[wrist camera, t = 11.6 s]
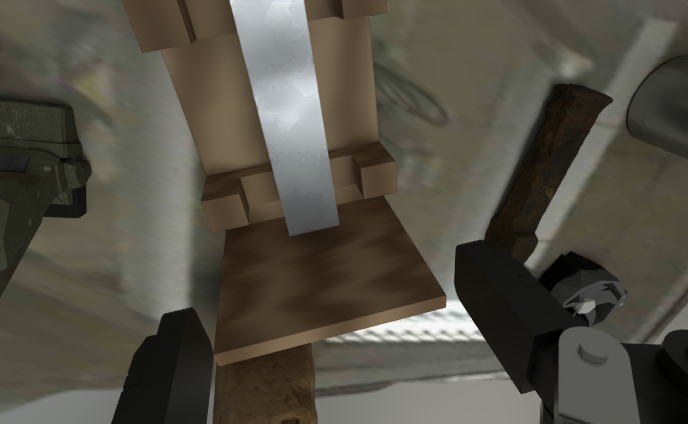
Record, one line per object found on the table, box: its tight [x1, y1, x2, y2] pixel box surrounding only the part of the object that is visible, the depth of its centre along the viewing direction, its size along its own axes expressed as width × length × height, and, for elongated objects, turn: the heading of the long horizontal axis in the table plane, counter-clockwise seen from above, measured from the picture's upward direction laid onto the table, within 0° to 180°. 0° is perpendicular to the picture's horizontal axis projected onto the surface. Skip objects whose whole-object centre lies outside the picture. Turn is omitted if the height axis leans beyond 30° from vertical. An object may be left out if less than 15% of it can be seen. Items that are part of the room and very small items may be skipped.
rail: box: [230, 0, 340, 236], centre depth 27 cm, size 4×17×6 cm, turn 7°
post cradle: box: [122, 0, 446, 366], centre depth 26 cm, size 16×24×16 cm
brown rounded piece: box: [213, 343, 317, 424], centre depth 34 cm, size 11×8×20 cm
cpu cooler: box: [538, 251, 628, 328], centre depth 51 cm, size 10×6×10 cm
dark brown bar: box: [485, 84, 613, 265], centre depth 40 cm, size 23×5×6 cm, turn 164°
